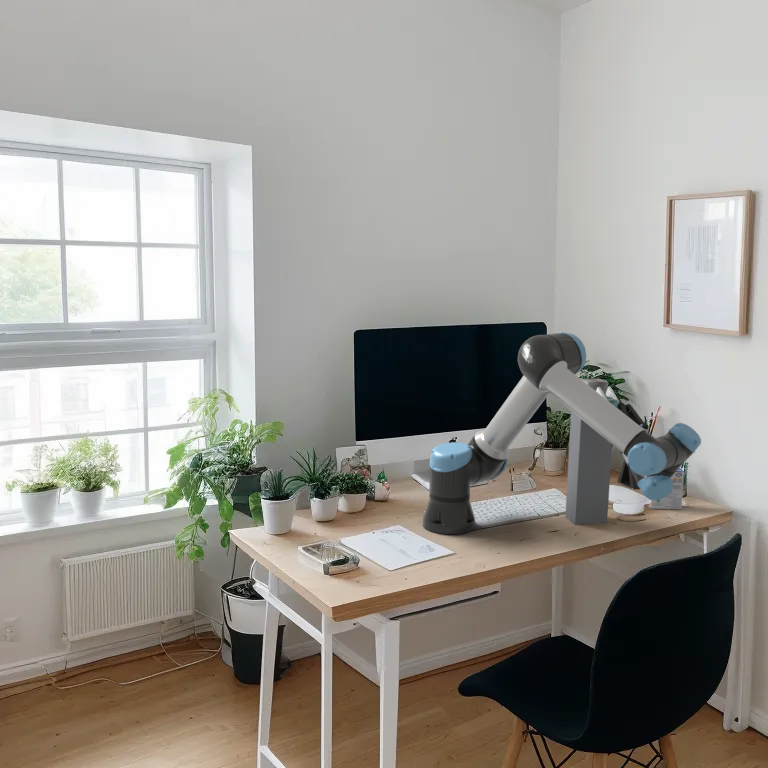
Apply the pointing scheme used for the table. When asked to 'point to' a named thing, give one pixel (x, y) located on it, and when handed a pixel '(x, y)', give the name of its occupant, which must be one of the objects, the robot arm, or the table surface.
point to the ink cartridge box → (671, 494)
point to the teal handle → (603, 385)
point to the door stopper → (627, 477)
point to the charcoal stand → (587, 474)
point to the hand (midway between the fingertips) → (602, 390)
